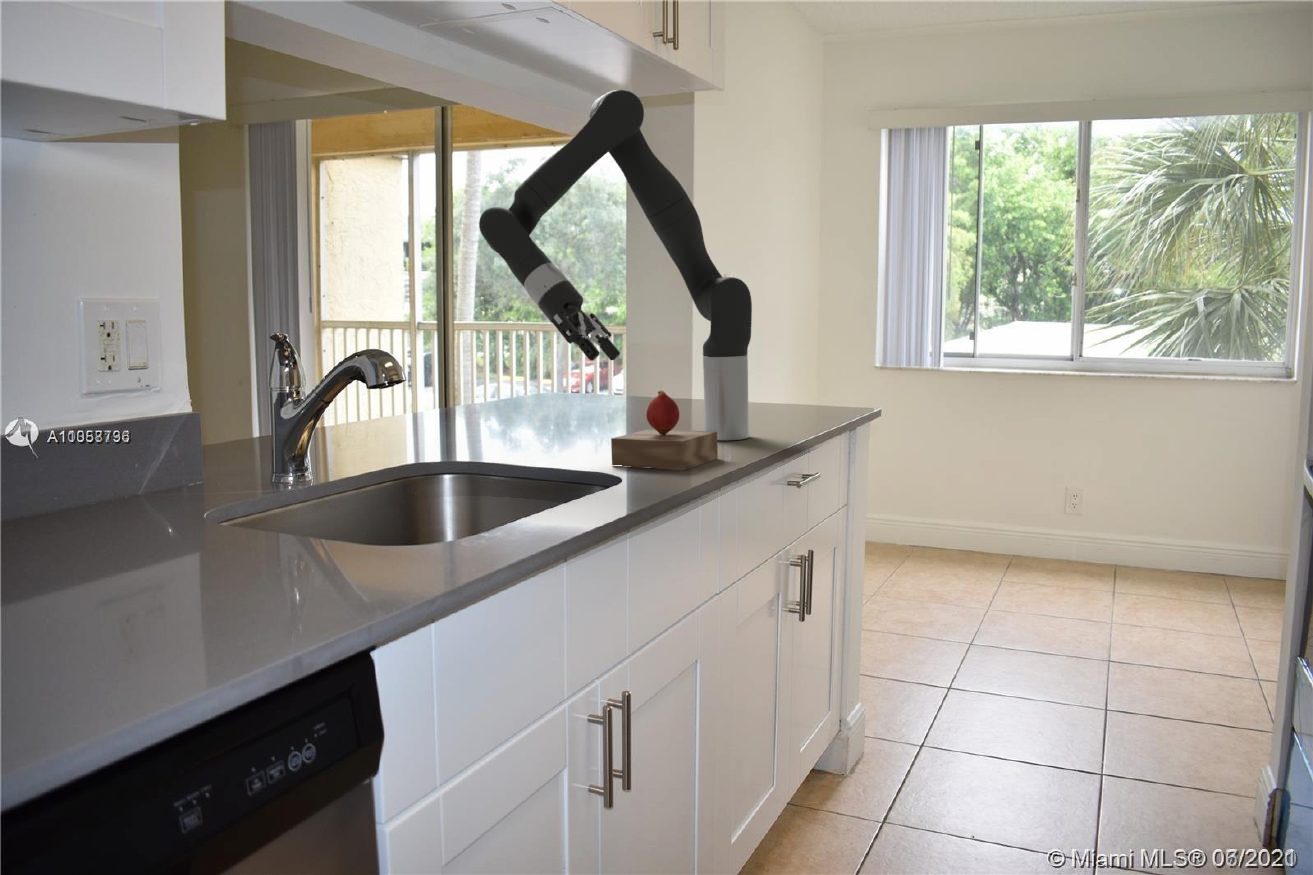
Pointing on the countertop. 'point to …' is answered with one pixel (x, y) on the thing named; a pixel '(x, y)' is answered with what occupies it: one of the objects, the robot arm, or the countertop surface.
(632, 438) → the walnut base
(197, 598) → the countertop surface
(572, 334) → the robot arm
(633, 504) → the countertop surface
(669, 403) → the onion
